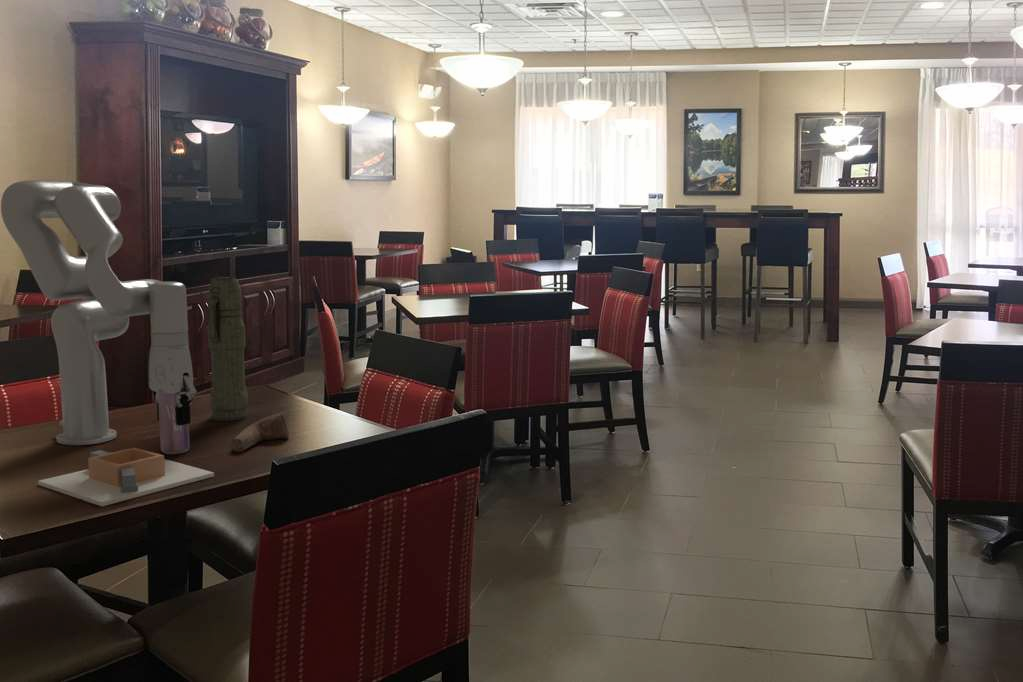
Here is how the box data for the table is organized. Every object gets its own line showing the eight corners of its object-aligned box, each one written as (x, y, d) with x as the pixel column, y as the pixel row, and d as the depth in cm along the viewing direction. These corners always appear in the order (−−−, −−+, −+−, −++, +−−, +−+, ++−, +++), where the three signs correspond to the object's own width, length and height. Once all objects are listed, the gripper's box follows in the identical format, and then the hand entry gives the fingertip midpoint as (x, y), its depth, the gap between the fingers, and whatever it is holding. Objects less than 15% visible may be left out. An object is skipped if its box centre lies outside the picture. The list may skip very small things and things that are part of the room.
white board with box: (38, 484, 191) (36, 460, 191) (149, 458, 210) (148, 436, 210) (101, 506, 178) (100, 480, 178) (214, 476, 197) (213, 452, 197)
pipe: (223, 431, 215) (268, 425, 214) (249, 414, 231) (291, 408, 230) (229, 460, 216) (274, 454, 215) (255, 441, 232) (296, 435, 231)
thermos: (201, 421, 245) (195, 279, 239) (225, 411, 256) (219, 275, 251) (234, 423, 243) (228, 279, 238) (257, 412, 254) (252, 275, 249)
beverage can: (189, 446, 220) (185, 380, 218) (190, 453, 215) (187, 384, 213) (160, 449, 218) (157, 381, 216) (161, 455, 213) (158, 386, 211)
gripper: (131, 338, 215) (135, 419, 218) (179, 345, 205) (183, 431, 207) (161, 334, 221) (165, 413, 224) (209, 341, 211) (213, 424, 213)
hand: (174, 421), depth 216 cm, fingers closed on beverage can, 6 cm apart
